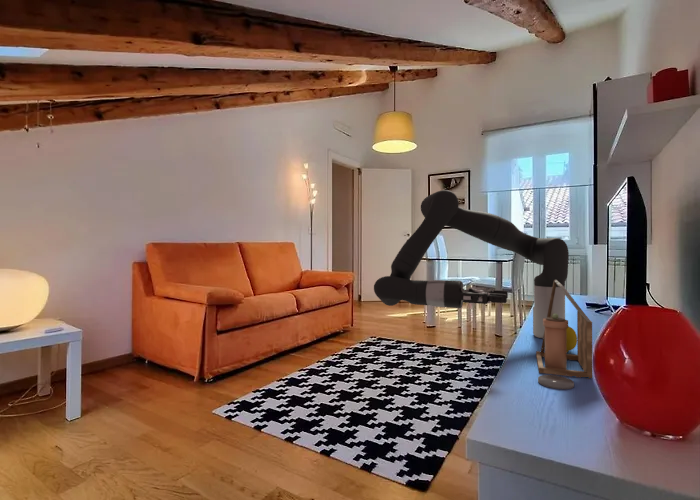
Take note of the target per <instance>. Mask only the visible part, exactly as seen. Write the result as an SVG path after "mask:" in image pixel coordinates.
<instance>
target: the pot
mask: <svg viewBox="0 0 700 500" xmlns="http://www.w3.org/2000/svg"><path fill="white" fill-rule="evenodd" d="M558 317H559V316H558V314H553V315H552V317H547V318H544V319H543V326H545V349H544V352H545V357H544V367H547V368H556V369H566V370H568V369H567V368H568V367H567V361H568V359H567V354H568V352H566V328H568V326H569V320H567V319H566V318H565V319H563V318H558Z"/></svg>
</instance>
